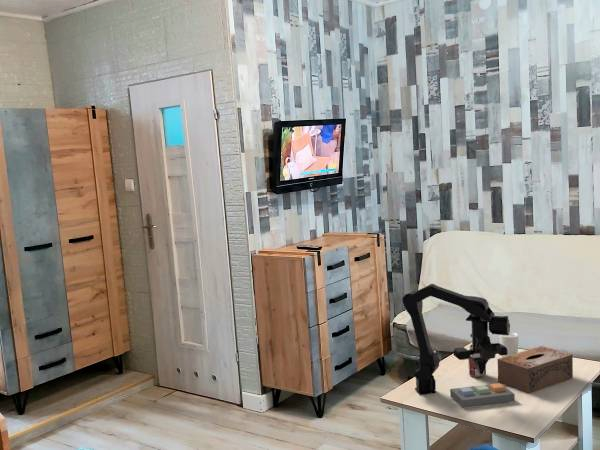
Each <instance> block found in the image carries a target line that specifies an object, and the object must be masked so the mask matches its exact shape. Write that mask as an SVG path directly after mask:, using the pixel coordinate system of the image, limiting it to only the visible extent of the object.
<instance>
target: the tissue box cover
mask: <svg viewBox="0 0 600 450" xmlns="http://www.w3.org/2000/svg"><path fill="white" fill-rule="evenodd" d="M573 359H574V358H573V353H569V352H565V351H563V350H558V349H554V348H551V347H547V346H543V345H541V346H536V347H533V348H530V349H527V350H523V351H520V352H519V351H518V353H516V354H513V355H509V356H506V357H502V356H501V357H499V358H497V383H501V384H502V385H503V386H505V387H507V388H511V389H514V390H516V391H519V392H522V393H525V394H527V395H529V394H532V393H534V392H538V391H541V390H543V389H547V388H551V387H553V386H555V385H557V384H561V383H564V382H567V381H570V380H572V379H573V378H574V370H573V369H574V366H573V365H574V364H573V361H574V360H573Z"/></svg>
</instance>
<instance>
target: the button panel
mask: <svg viewBox="0 0 600 450" xmlns="http://www.w3.org/2000/svg"><path fill="white" fill-rule="evenodd" d="M500 384H501V383H500ZM484 385H485V386H486V387H488V388H489V383H488V384H484ZM501 385H503V384H501ZM474 386H475V385H472V386H469V387H470V388H471V389H472V390H474ZM503 386H504V387H505V391H502V392H493V391H491V390H490V389H489V393H486V394H478V393H476V392H475V391H474V395H469V396H462V395H461V394H460V393H459V388H460V387H454V388H450V389H449V394H450V396H449V397H450V398H451V399H452V400H453V401H455V403H456V404H458V406H459V407H461V408H462V409H467V408H473V407H474V408H475V407H481V406H482V407H483V406H490V405H496V404H497V405H498V404H506V403H514V402H516V401H515V399H516V398H515V392H513V391H511V389H509V388H508V387H507V386H505V385H503Z"/></svg>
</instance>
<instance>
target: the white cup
mask: <svg viewBox="0 0 600 450" xmlns="http://www.w3.org/2000/svg"><path fill="white" fill-rule="evenodd" d="M499 343H500V344H502V345H503V346H505V347H506V348H507V350H508V354H507V355H501V358H502V357H506V356H509V355H513V354H516V353H519V334H518V333H516V332H511V331H510V333H509V335H499Z"/></svg>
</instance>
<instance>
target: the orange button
mask: <svg viewBox="0 0 600 450" xmlns="http://www.w3.org/2000/svg"><path fill="white" fill-rule="evenodd" d="M488 384H489V383H488ZM504 386H505V385H503V384H502V385H501V384H500V383H498V382H497V383H495V382H494V383H490V384H489V389H490V390H491V391H493V392H502V391H505V387H506V386H505V387H504Z"/></svg>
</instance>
